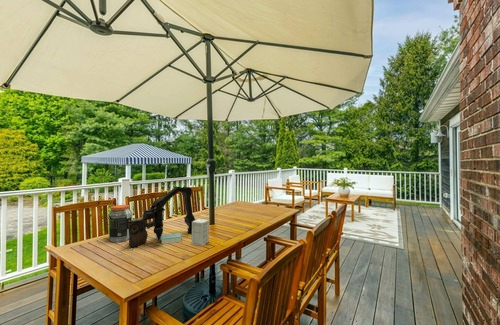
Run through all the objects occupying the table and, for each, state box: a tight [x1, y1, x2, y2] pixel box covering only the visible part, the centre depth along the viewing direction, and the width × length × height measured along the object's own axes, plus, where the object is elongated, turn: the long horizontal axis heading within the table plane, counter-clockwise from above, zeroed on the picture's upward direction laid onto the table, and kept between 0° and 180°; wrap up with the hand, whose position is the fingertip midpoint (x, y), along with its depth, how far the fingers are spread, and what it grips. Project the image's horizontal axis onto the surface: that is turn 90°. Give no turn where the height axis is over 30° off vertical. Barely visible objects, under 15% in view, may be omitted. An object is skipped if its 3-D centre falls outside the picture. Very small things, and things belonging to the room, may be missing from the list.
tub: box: [161, 237, 182, 245], centre depth 178 cm, size 14×9×4 cm, turn 110°
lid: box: [155, 232, 182, 241], centre depth 177 cm, size 18×9×5 cm, turn 110°
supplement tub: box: [108, 204, 133, 243], centre depth 184 cm, size 16×16×26 cm
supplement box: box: [191, 218, 210, 246], centre depth 174 cm, size 10×9×17 cm
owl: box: [128, 216, 149, 249], centre depth 170 cm, size 13×13×20 cm
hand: (158, 238), depth 175 cm, fingers open, 9 cm apart
